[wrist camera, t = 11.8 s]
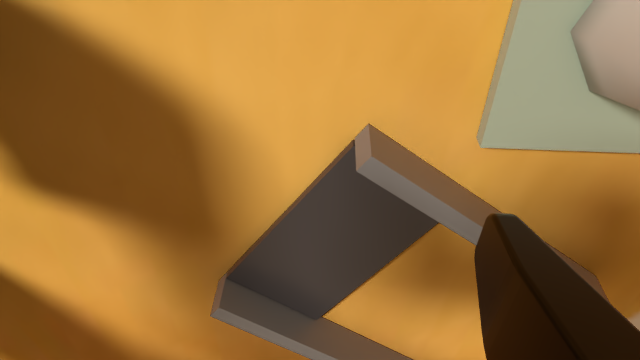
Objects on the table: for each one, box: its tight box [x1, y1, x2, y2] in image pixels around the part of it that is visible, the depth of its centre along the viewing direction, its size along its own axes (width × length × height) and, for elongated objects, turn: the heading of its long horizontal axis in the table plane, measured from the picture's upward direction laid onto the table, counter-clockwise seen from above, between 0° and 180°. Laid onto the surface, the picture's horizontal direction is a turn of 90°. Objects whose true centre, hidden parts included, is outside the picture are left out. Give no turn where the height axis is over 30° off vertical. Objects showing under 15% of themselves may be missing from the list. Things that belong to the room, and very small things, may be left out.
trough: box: [210, 124, 610, 360], centre depth 28 cm, size 17×14×2 cm
